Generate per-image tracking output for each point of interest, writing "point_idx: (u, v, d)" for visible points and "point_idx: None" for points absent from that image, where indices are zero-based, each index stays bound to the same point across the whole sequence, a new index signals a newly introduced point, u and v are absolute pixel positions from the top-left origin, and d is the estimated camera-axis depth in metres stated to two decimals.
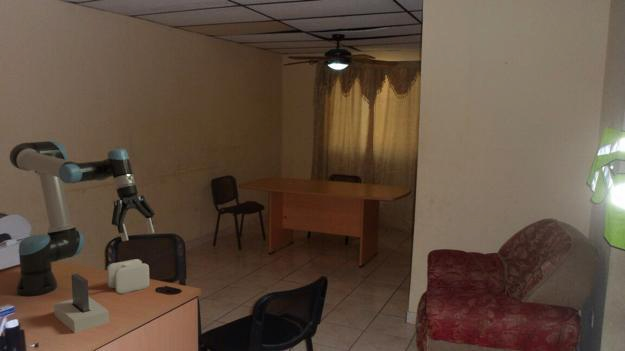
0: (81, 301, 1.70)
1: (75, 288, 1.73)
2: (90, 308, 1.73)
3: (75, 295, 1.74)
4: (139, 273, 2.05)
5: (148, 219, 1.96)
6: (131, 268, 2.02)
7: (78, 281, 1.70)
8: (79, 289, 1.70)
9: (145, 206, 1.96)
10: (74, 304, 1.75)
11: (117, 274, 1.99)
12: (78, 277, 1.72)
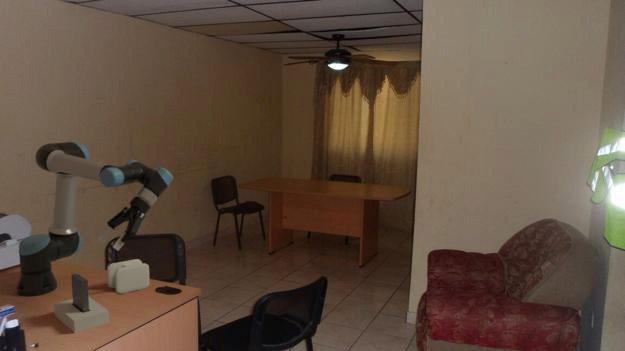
0: (81, 301, 1.70)
1: (75, 288, 1.73)
2: (90, 308, 1.73)
3: (75, 295, 1.74)
4: (139, 273, 2.05)
5: (111, 230, 1.86)
6: (131, 268, 2.02)
7: (78, 281, 1.70)
8: (79, 289, 1.70)
9: None
10: (74, 304, 1.75)
11: (117, 274, 1.99)
12: (78, 277, 1.72)
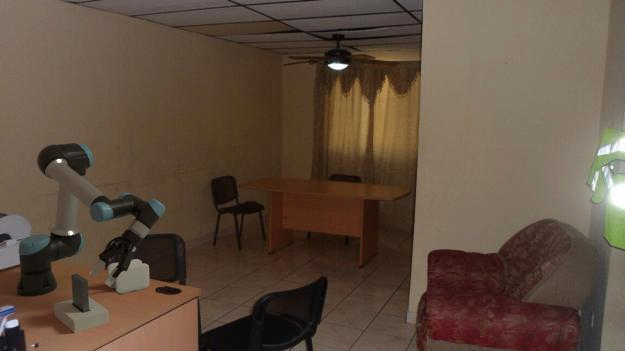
0: (81, 301, 1.70)
1: (75, 288, 1.73)
2: (90, 308, 1.73)
3: (75, 295, 1.74)
4: (139, 273, 2.05)
5: (103, 263, 1.84)
6: (131, 268, 2.02)
7: (78, 281, 1.70)
8: (79, 289, 1.70)
9: None
10: (74, 304, 1.75)
11: None
12: (78, 277, 1.72)
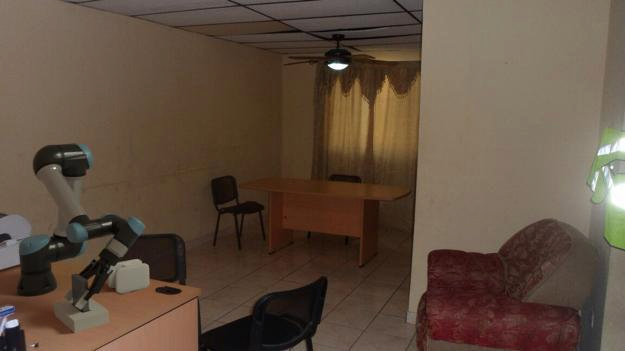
0: None
1: (75, 288, 1.73)
2: (90, 308, 1.73)
3: (75, 295, 1.74)
4: (139, 273, 2.05)
5: None
6: (131, 268, 2.02)
7: (78, 281, 1.70)
8: (79, 289, 1.70)
9: None
10: (74, 304, 1.75)
11: (117, 274, 1.99)
12: (78, 277, 1.72)
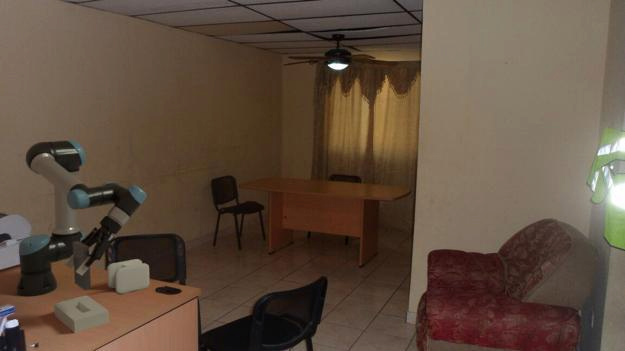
0: None
1: (76, 255, 1.72)
2: (90, 308, 1.73)
3: (76, 262, 1.73)
4: (139, 273, 2.05)
5: None
6: (131, 268, 2.02)
7: (79, 247, 1.69)
8: (80, 256, 1.69)
9: None
10: None
11: (117, 274, 1.99)
12: (79, 244, 1.71)
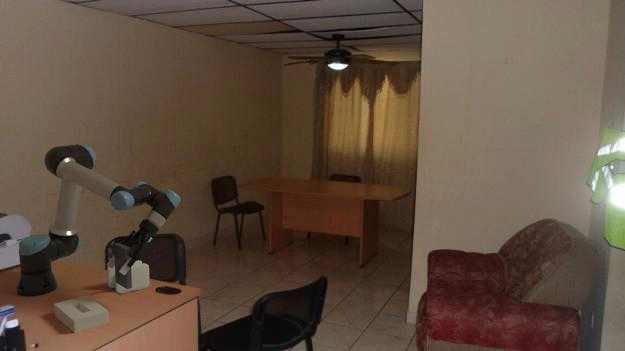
0: None
1: (118, 256, 1.83)
2: (90, 308, 1.73)
3: (118, 263, 1.84)
4: (139, 273, 2.05)
5: None
6: (131, 268, 2.02)
7: (121, 249, 1.80)
8: (122, 256, 1.81)
9: None
10: (116, 271, 1.85)
11: None
12: (121, 245, 1.82)
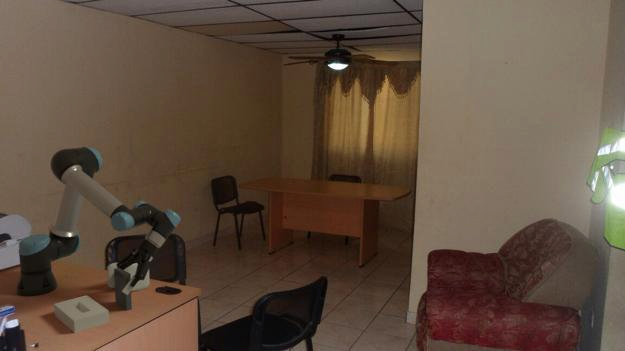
0: (124, 293, 1.82)
1: (118, 281, 1.85)
2: (90, 308, 1.73)
3: (118, 288, 1.86)
4: None
5: None
6: (131, 268, 2.02)
7: (121, 274, 1.82)
8: (122, 282, 1.82)
9: None
10: (117, 296, 1.87)
11: None
12: (121, 271, 1.84)
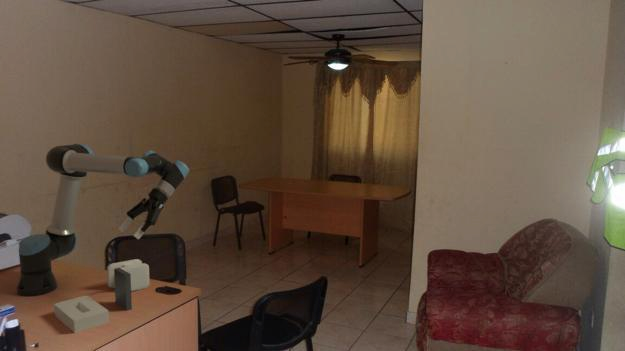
0: (124, 293, 1.82)
1: (118, 281, 1.85)
2: (90, 308, 1.73)
3: (118, 288, 1.86)
4: (139, 273, 2.05)
5: (131, 220, 1.94)
6: (131, 268, 2.02)
7: (121, 274, 1.82)
8: (122, 282, 1.82)
9: None
10: (117, 296, 1.87)
11: None
12: (121, 271, 1.84)
